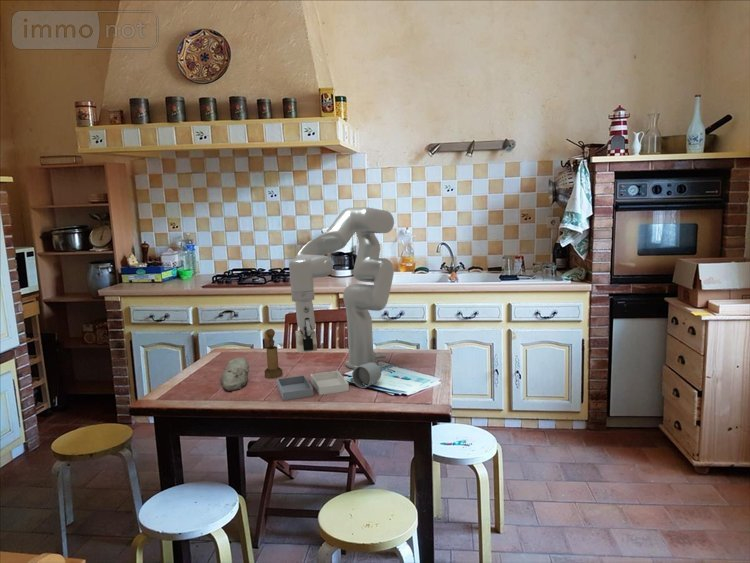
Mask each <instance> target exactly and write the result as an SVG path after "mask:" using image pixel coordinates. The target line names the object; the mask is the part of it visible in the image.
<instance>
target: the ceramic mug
mask: <svg viewBox="0 0 750 563" xmlns="http://www.w3.org/2000/svg"><path fill="white" fill-rule="evenodd" d="M351 376H352V377H351V378H349V380H350V383H351V384H352V383H354V385H355V386H357V387H359V388H360V389H361V388H362V389H366V388H368V387H370V386H372V385H373V384H376V383H377V382H378V381H379V380H380V379H381V378H382V377H381V376H382V369H381V367H380V366H379V365H378V364H375V363H366V364H364V365H360V366H358V367H356V368H355V369H353V371H352V375H351ZM362 383H364V384H366V385H367V386H365V385H363V384H362Z"/></svg>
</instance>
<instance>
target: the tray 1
mask: <svg viewBox="0 0 750 563" xmlns="http://www.w3.org/2000/svg"><path fill="white" fill-rule="evenodd" d="M275 379H276V387H277V389H278V392H279V394H280V396H281V398H282V401H289V400H296V399H303V398H309V397H314V394H315V392H314V386H313V385H311V384H312V383H311V381H309V380H308V378H307V376H306V375H305V374H303V375H301V374H300V375H296V376H287V377H282V378H281V377H278V378H275Z"/></svg>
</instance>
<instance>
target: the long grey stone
mask: <svg viewBox="0 0 750 563" xmlns="http://www.w3.org/2000/svg"><path fill="white" fill-rule="evenodd" d="M249 372H250V370H249V362H248V361H247V357H246V358H245V357H235V358H233V359H231V360H229V361H228V362H227V364H226V367H225V368H224V371H223V373H222V374H221V378H220V380H221V383H222V384H221V385H222V387H223V388H224V389H225V390H226V391H235V390H240V389H242V388H243V387H245V385H246V383H247V381H248V376H249Z"/></svg>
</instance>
